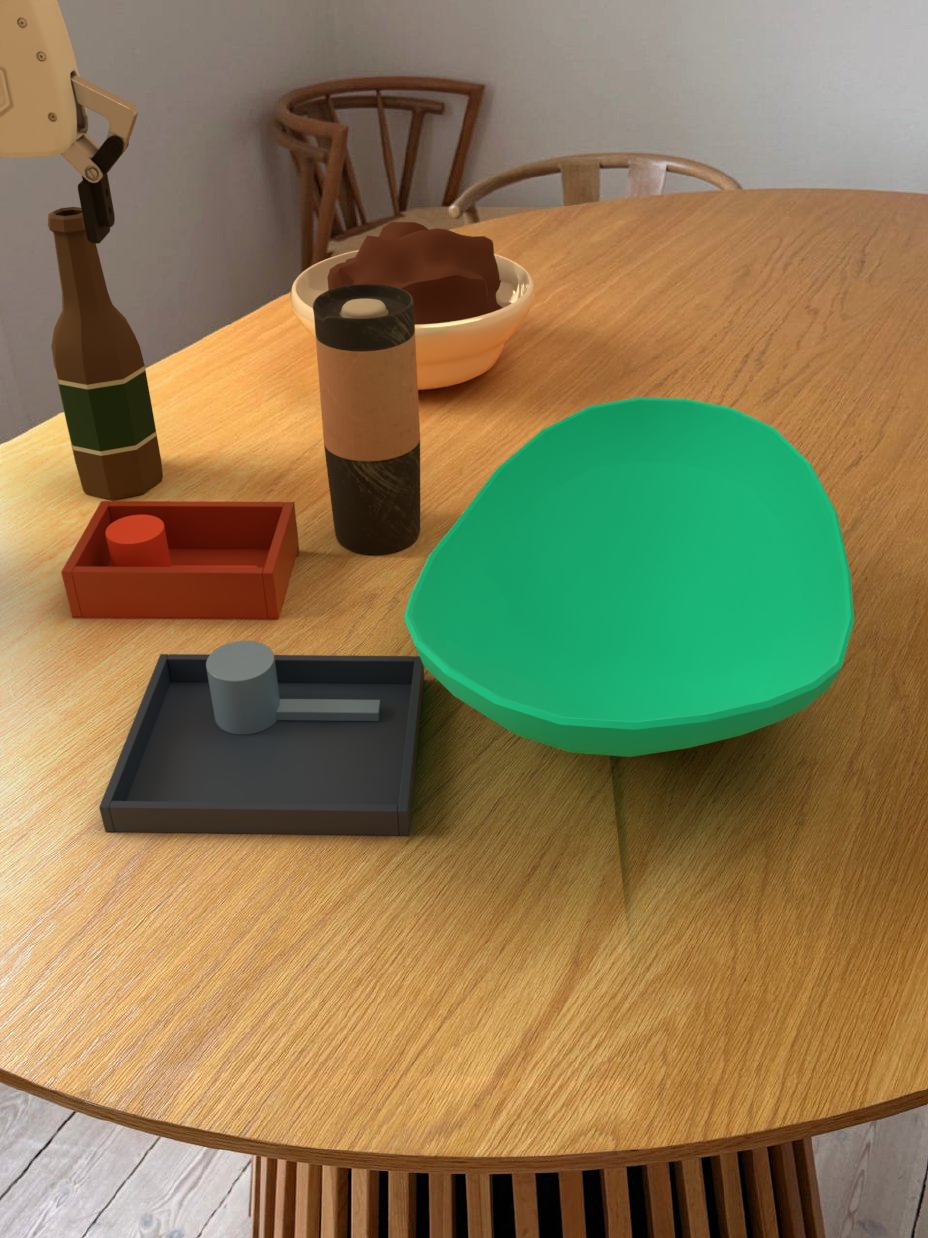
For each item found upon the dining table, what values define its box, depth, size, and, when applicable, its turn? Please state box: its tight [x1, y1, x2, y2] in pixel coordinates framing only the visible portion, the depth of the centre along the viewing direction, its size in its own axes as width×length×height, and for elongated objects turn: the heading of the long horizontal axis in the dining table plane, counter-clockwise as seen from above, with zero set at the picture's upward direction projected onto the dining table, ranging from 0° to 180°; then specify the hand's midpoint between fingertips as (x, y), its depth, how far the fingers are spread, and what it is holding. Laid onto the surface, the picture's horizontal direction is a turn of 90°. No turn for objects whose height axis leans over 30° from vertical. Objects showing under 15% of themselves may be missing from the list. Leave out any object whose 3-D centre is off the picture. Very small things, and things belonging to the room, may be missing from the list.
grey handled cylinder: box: [206, 640, 381, 735], centre depth 80 cm, size 11×4×4 cm, turn 88°
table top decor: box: [403, 396, 855, 758], centre depth 79 cm, size 40×28×13 cm
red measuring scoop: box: [105, 515, 258, 567], centre depth 94 cm, size 11×4×4 cm, turn 88°
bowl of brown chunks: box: [289, 221, 536, 391], centre depth 125 cm, size 25×25×15 cm
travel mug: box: [313, 284, 421, 556], centre depth 96 cm, size 8×8×20 cm
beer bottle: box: [47, 206, 164, 501], centre depth 103 cm, size 8×8×24 cm
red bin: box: [60, 500, 300, 621], centre depth 94 cm, size 16×11×4 cm
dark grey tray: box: [98, 653, 425, 838], centre depth 78 cm, size 18×15×2 cm
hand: (30, 237), depth 83 cm, fingers open, 9 cm apart
